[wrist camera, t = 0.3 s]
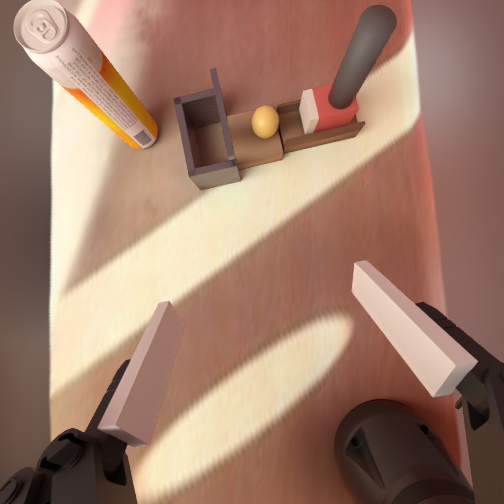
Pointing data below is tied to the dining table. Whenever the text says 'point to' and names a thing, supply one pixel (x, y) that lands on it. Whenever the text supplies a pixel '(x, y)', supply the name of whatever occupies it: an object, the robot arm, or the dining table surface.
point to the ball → (265, 121)
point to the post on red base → (348, 74)
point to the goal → (189, 117)
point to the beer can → (82, 69)
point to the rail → (296, 137)
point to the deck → (252, 142)
